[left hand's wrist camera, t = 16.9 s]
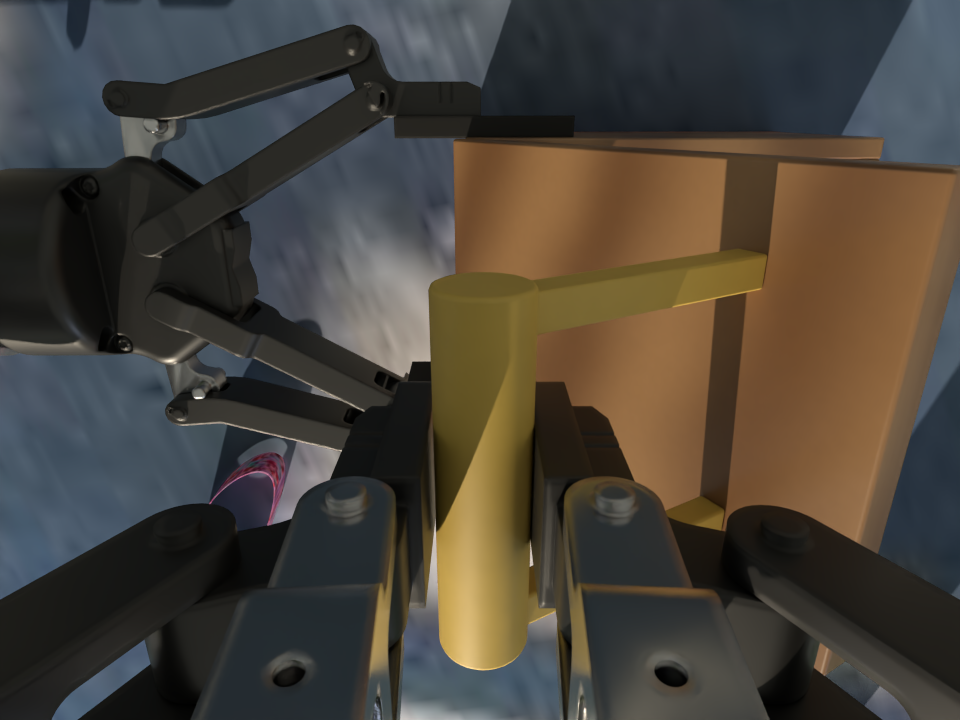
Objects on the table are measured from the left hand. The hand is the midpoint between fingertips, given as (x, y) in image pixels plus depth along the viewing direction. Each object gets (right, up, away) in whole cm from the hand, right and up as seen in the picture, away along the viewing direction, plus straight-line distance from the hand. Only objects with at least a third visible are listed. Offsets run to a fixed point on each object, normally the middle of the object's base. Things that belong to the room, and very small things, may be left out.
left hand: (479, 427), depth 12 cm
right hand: (+3, +5, +14) cm, 15 cm away
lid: (+4, +2, +5) cm, 7 cm away
